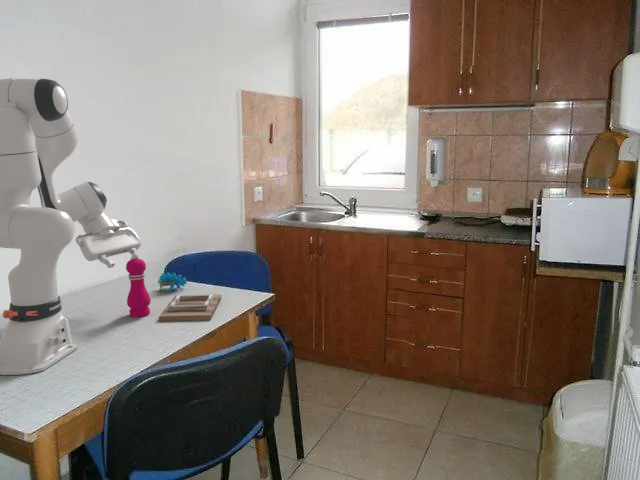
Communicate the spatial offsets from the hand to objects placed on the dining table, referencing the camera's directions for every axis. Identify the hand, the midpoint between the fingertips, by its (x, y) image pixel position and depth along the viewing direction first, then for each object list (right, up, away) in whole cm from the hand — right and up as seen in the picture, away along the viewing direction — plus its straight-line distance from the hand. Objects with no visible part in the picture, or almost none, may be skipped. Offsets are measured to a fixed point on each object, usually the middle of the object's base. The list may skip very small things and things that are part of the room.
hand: (124, 263), depth 170 cm
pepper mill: (+5, -17, 0) cm, 17 cm away
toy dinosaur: (+8, -11, +28) cm, 31 cm away
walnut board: (+21, -15, +5) cm, 26 cm away
